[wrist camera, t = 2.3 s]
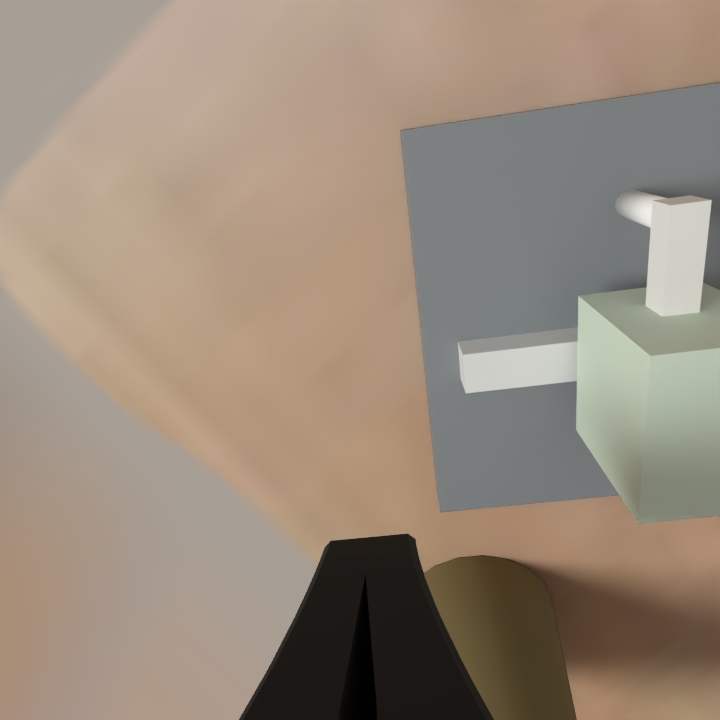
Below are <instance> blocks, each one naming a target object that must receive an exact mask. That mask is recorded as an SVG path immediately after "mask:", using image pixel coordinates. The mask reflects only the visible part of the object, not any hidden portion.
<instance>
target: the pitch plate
mask: <svg viewBox="0 0 720 720" xmlns="http://www.w3.org/2000/svg"><path fill="white" fill-rule="evenodd" d="M400 132H401V142H402V152H403V162H404V171H405V181H406V191H407V201H408V211H409V220H410V230H411V240H412V250H413V260H414V269H415V279H416V289H417V299H418V309H419V318H420V328H421V338H422V348H423V357H424V367H425V377H426V387H427V397H428V406H429V416H430V426H431V436H432V446H433V455H434V465H435V475H436V485H437V494H438V500H439V506H440V512H450V511H460V510H470V509H481V508H491V507H501V506H512V505H522V504H533V503H543V502H553V501H564V500H574V499H584V498H595V497H605V496H616V495H619V494H618V492H617V491H616V489H615V488H614V486H613V485H612V483H611V482H610V480H609V479H608V477H607V476H606V474H605V473H604V471H603V470H602V468H601V467H600V465H599V464H598V462H597V461H596V459H595V458H594V456H593V455H592V453H591V452H590V450H589V449H588V447H587V446H586V444H585V443H584V441H583V440H582V438H581V437H580V435H579V434H578V432H577V431H576V404H577V345H578V296H580V295H588V294H596V293H604V292H612V291H620V290H628V289H636V288H645V287H647V275H648V260H649V245H650V230H651V228H650V227H647V226H644V225H642V224H639V223H636V222H634V221H631V220H628V219H625V218H623V217H621V216H619V215H618V214H617V213H616V210H615V202H616V200H617V198H618V197H619V195H620V194H621V193H623V192H624V191H627V190H637V191H641V192H645V193H649V194H653V195H657V196H661V197H665V198H674V197H682V196H689V195H692V196H696V197H701V198H705V199H710V200H712V202H711V211H710V220H709V230H708V239H707V248H706V258H705V267H704V276H703V283H705V284H707V285H709V286H712V287H714V288H716V289H718V290H720V82H718V83H711V84H705V85H698V86H691V87H685V88H678V89H671V90H665V91H658V92H651V93H645V94H638V95H631V96H625V97H618V98H611V99H605V100H598V101H592V102H585V103H578V104H572V105H565V106H558V107H552V108H545V109H538V110H532V111H525V112H518V113H512V114H505V115H498V116H492V117H485V118H478V119H472V120H465V121H458V122H452V123H445V124H439V125H432V126H425V127H419V128H412V129H405V130H400Z"/></svg>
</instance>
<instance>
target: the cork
mask: <svg viewBox="0 0 720 720" xmlns="http://www.w3.org/2000/svg"><path fill="white" fill-rule="evenodd" d="M424 576H425V579H426V581H427V584H428V587H429V589H430V592H431V594H432V597H433V599H434V602H435V604H436V607H437V609H438V611H439V613H440V616H441V618H442V620H443V622H444V624H445V627H446V629H447V631H448V633H449V635H450V637H451V639H452V641H453V643H454V645H455V647H456V649H457V651H458V653H459V656H460V658H461V660H462V662H463V664H464V665H465V667H466V669H467V671H468V673H469V675H470V677H471V679H472V681H473V683H474V685H475V686H476V688H477V690H478V692H479V694H480V695H481V697H482V699H483V701H484V702H485V704H486V706H487V708H488V710H489V711H490V713H491V715H492V717H493V719H494V720H577V719H576V714H575V709H574V704H573V700H572V695H571V690H570V685H569V680H568V675H567V670H566V666H565V661H564V656H563V651H562V646H561V641H560V636H559V631H558V627H557V622H556V617H555V612H554V607H553V602H552V598H551V596H550V594H549V592H548V590H547V588H546V586H545V584H544V582H543V581H542V580H541V579H539V578H538V577H537V576H536V575H535V574H534V573H533V572H532V571H531V570H529V569H528V568H526V567H524V566H521V565H519V564H517V563H515V562H512V561H510V560H508V559H502V558H496V557H489V556H473V557H463V558H456V559H453V560H451V561H448V562H445V563H442V564H439V565H436V566H434V567H432V568H431V569H430V570H428V571H427V572H425V573H424Z"/></svg>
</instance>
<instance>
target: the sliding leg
mask: <svg viewBox="0 0 720 720" xmlns="http://www.w3.org/2000/svg"><path fill="white" fill-rule="evenodd" d="M711 202H712V200H710V199H705V198H701V197H696V196H692V195H689V196H682V197H674V198H665V197H661V196H657V195H653V194H649V193H645V192H641V191H637V190H627V191H624V192H623V193H621V194H620V195H619V197H618V198H617V200H616V202H615V210H616V213H617V214H618V215H619V216H621V217H623V218H625V219H628V220H631V221H634V222H636V223H639V224H642V225H644V226H647V227H650V228H651V230H650V245H649V260H648V275H647V287H645V288H636V289H628V290H620V291H612V292H604V293H596V294H588V295H580V296H578V345H577V404H576V431H577V432H578V434H579V435H580V437H581V438H582V440H583V441H584V443H585V444H586V446H587V447H588V449H589V450H590V452H591V453H592V455H593V456H594V458H595V459H596V461H597V462H598V464H599V465H600V467H601V468H602V470H603V471H604V473H605V474H606V476H607V477H608V479H609V480H610V482H611V483H612V485H613V486H614V488H615V489H616V491H617V492H618V494H619V495H620V497H621V498H622V500H623V501H624V503H625V504H626V506H627V507H628V509H629V511H630V512H631V514H632V515H633V517H634V518H635V520H636V521H637V523H638V524H639V523H649V522H660V521H671V520H682V519H693V518H704V517H714V516H720V290H718V289H716V288H714V287H712V286H709V285H707V284H705V283H703V276H704V267H705V258H706V248H707V239H708V230H709V220H710V211H711Z"/></svg>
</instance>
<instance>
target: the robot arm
mask: <svg viewBox="0 0 720 720" xmlns="http://www.w3.org/2000/svg"><path fill="white" fill-rule="evenodd" d="M239 720H494V719H493V717H492V715H491V713H490V711H489V710H488V708H487V706H486V704H485V702H484V701H483V699H482V697H481V695H480V694H479V692H478V690H477V688H476V686H475V685H474V683H473V681H472V679H471V677H470V675H469V673H468V671H467V669H466V667H465V665H464V664H463V662H462V660H461V658H460V656H459V653H458V651H457V649H456V647H455V645H454V643H453V641H452V639H451V637H450V635H449V633H448V631H447V629H446V627H445V624H444V622H443V620H442V618H441V616H440V613H439V611H438V609H437V607H436V604H435V602H434V599H433V597H432V594H431V592H430V589H429V587H428V584H427V581H426V579H425V576H424V573H423V570H422V567H421V563H420V560H419V556H418V552H417V547H416V540H415V539H414V538H413V537H412V536H410V535H409V534H400V535H389V536H379V537H368V538H357V539H347V540H336V541H330V542H329V544H328V545H327V546H326V547H325V549H324V551H323V554H322V557H321V559H320V562H319V564H318V567H317V569H316V572H315V574H314V576H313V579H312V581H311V583H310V586H309V588H308V590H307V592H306V595H305V597H304V599H303V601H302V603H301V605H300V607H299V609H298V612H297V614H296V616H295V618H294V620H293V622H292V624H291V626H290V628H289V630H288V631H287V633H286V635H285V638H284V640H283V641H282V643H281V645H280V647H279V649H278V652H277V653H276V655H275V657H274V659H273V661H272V663H271V665H270V666H269V668H268V670H267V672H266V674H265V675H264V677H263V679H262V681H261V682H260V684H259V686H258V688H257V689H256V691H255V693H254V695H253V696H252V698H251V700H250V701H249V703H248V705H247V707H246V708H245V710H244V712H243V714H242V715H241V717H240V719H239Z"/></svg>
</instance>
